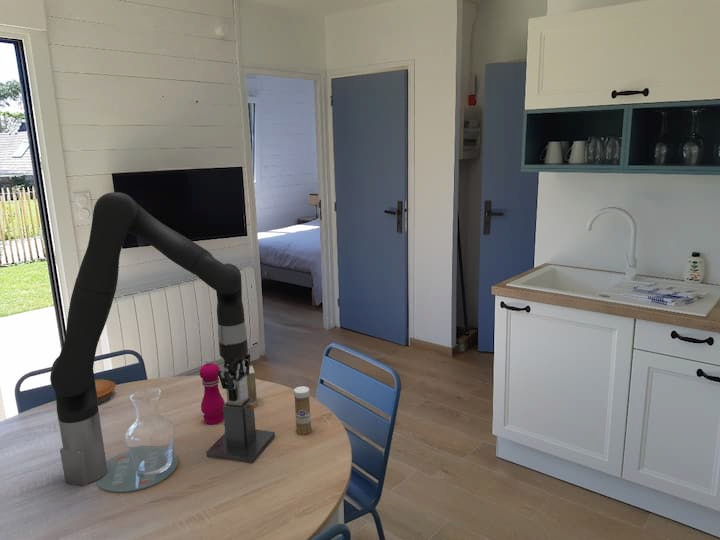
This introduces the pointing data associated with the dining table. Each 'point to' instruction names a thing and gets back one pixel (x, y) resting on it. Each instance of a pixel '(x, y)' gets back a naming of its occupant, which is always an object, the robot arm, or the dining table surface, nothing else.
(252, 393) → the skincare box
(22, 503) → the dining table surface
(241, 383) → the post
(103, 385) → the pie
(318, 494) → the dining table surface
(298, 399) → the sprinkles bottle
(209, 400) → the pepper mill
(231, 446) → the base
